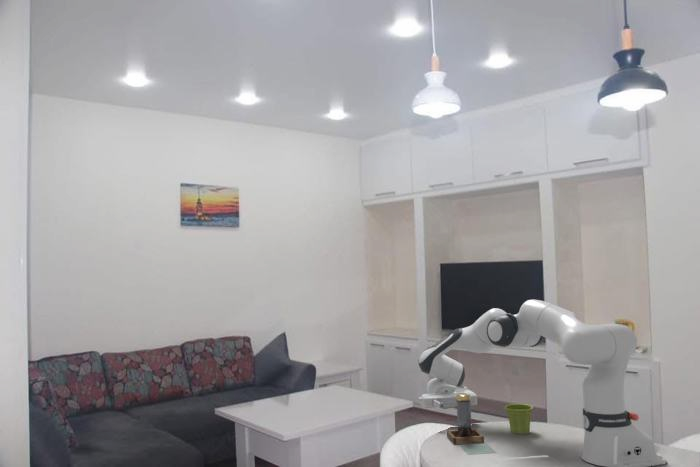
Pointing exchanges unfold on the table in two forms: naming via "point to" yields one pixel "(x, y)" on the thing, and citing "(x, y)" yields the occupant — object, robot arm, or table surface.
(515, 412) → the plant pot
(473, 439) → the tray
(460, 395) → the pepper mill
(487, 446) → the mat
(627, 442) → the robot arm
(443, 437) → the table surface
